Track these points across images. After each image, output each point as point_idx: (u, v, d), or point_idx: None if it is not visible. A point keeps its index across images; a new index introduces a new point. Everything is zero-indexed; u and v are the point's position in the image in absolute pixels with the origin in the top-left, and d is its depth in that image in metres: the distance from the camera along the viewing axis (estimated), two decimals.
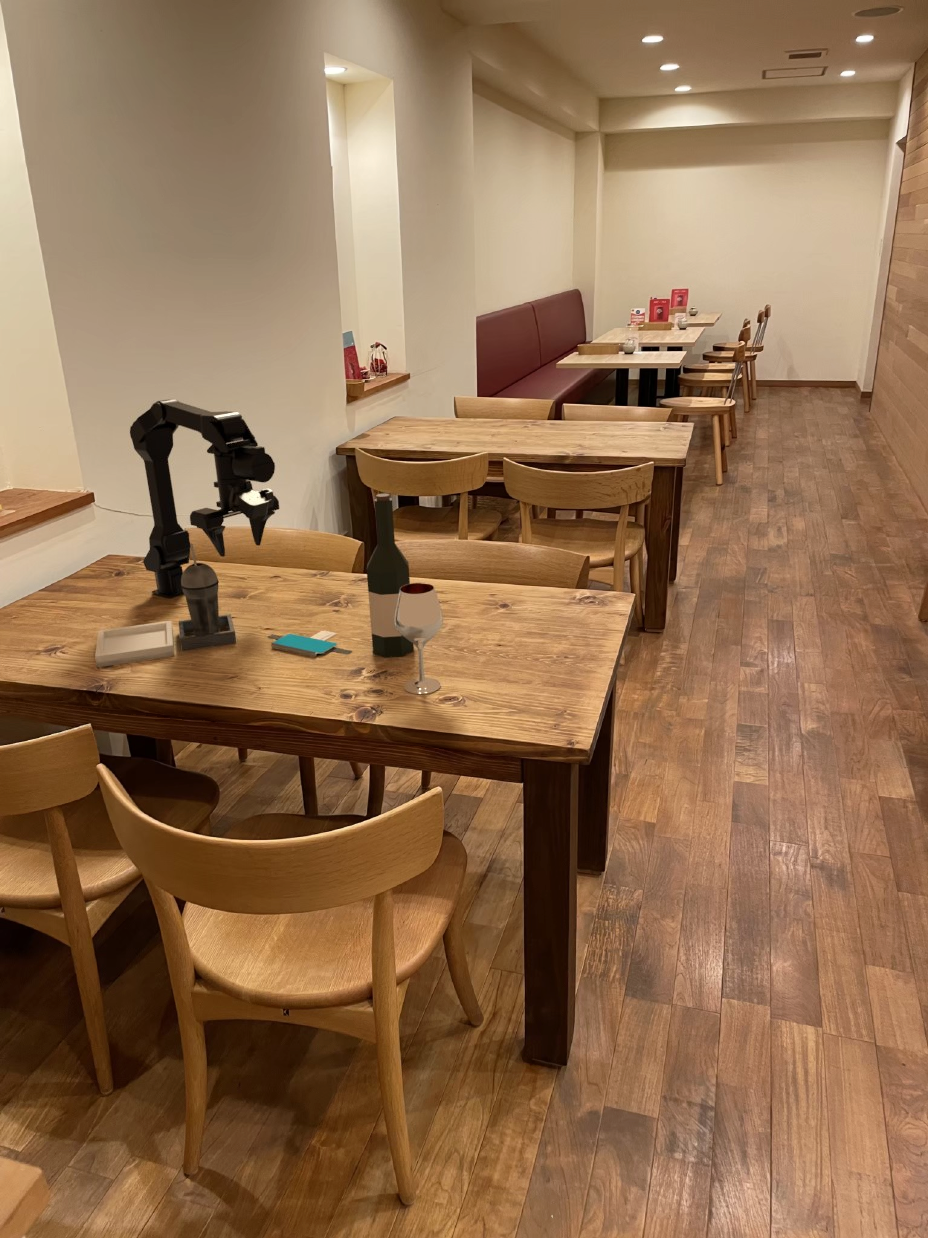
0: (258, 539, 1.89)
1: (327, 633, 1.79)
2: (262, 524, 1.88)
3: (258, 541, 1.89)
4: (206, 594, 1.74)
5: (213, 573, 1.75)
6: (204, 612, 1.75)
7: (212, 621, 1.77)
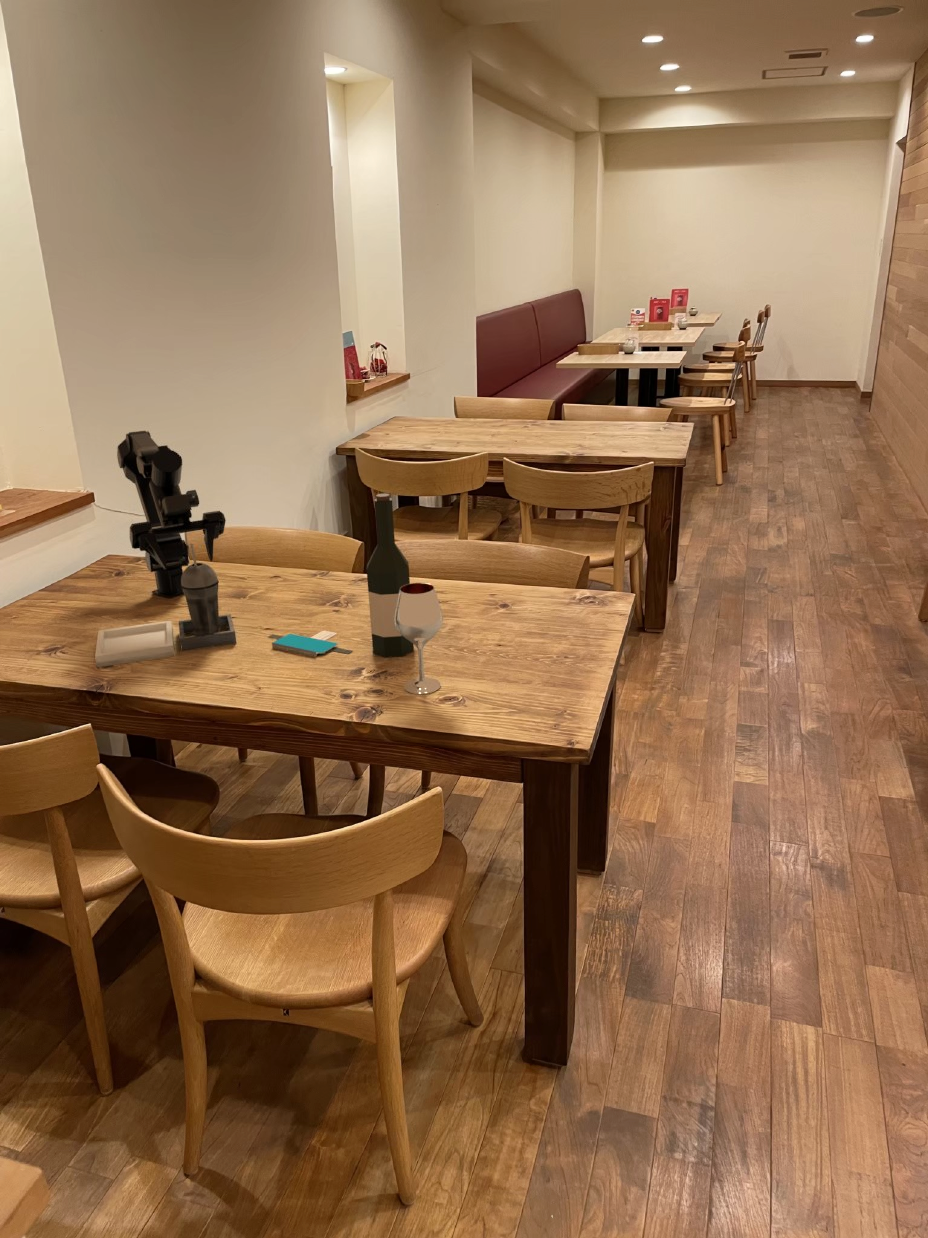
0: (209, 553, 1.84)
1: (327, 633, 1.80)
2: (210, 537, 1.84)
3: (209, 555, 1.83)
4: (206, 594, 1.74)
5: (213, 573, 1.75)
6: (204, 612, 1.75)
7: (212, 621, 1.77)
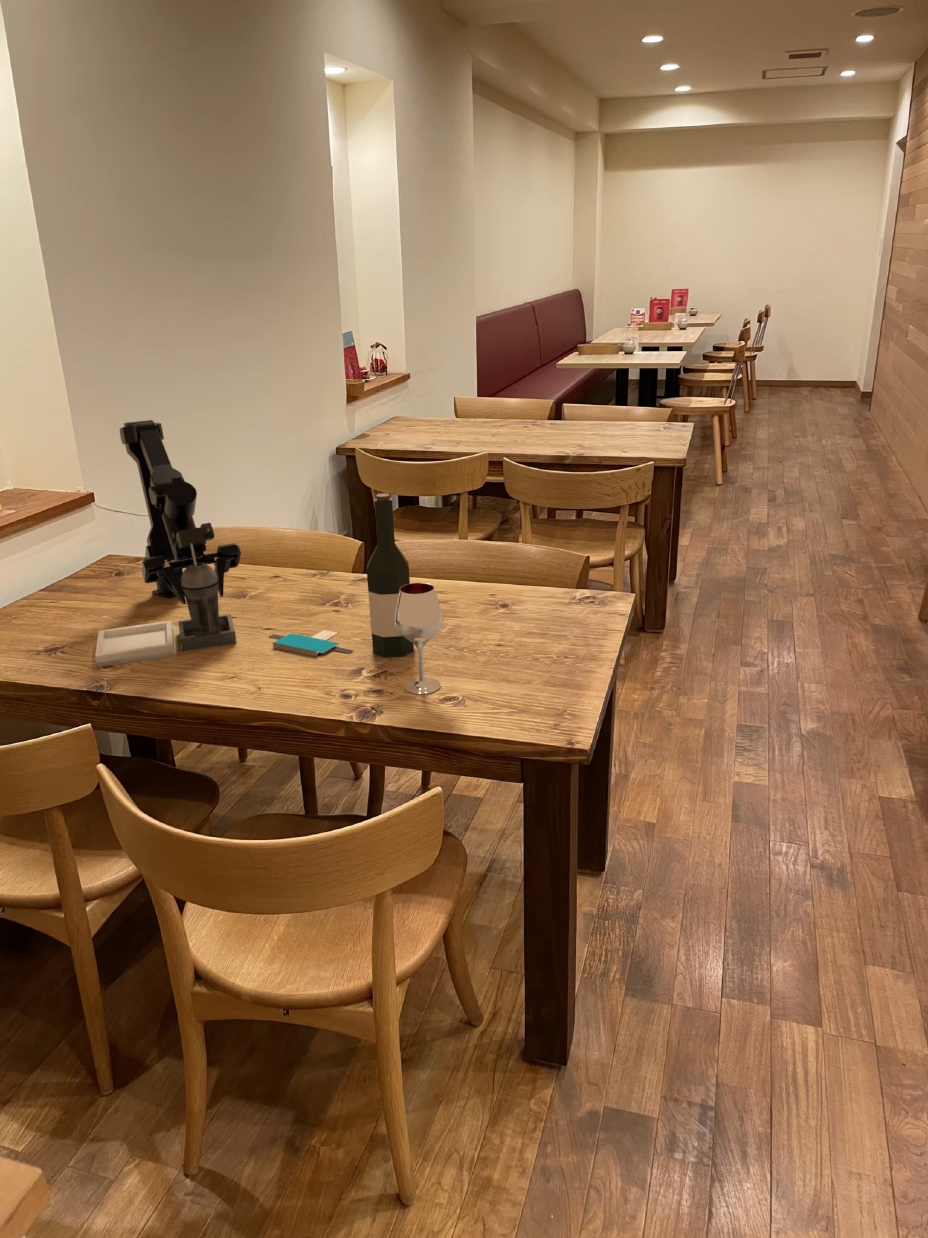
0: (219, 588, 1.77)
1: (328, 633, 1.80)
2: (220, 572, 1.78)
3: (220, 590, 1.77)
4: (206, 594, 1.74)
5: (213, 573, 1.75)
6: (204, 612, 1.75)
7: (212, 621, 1.77)
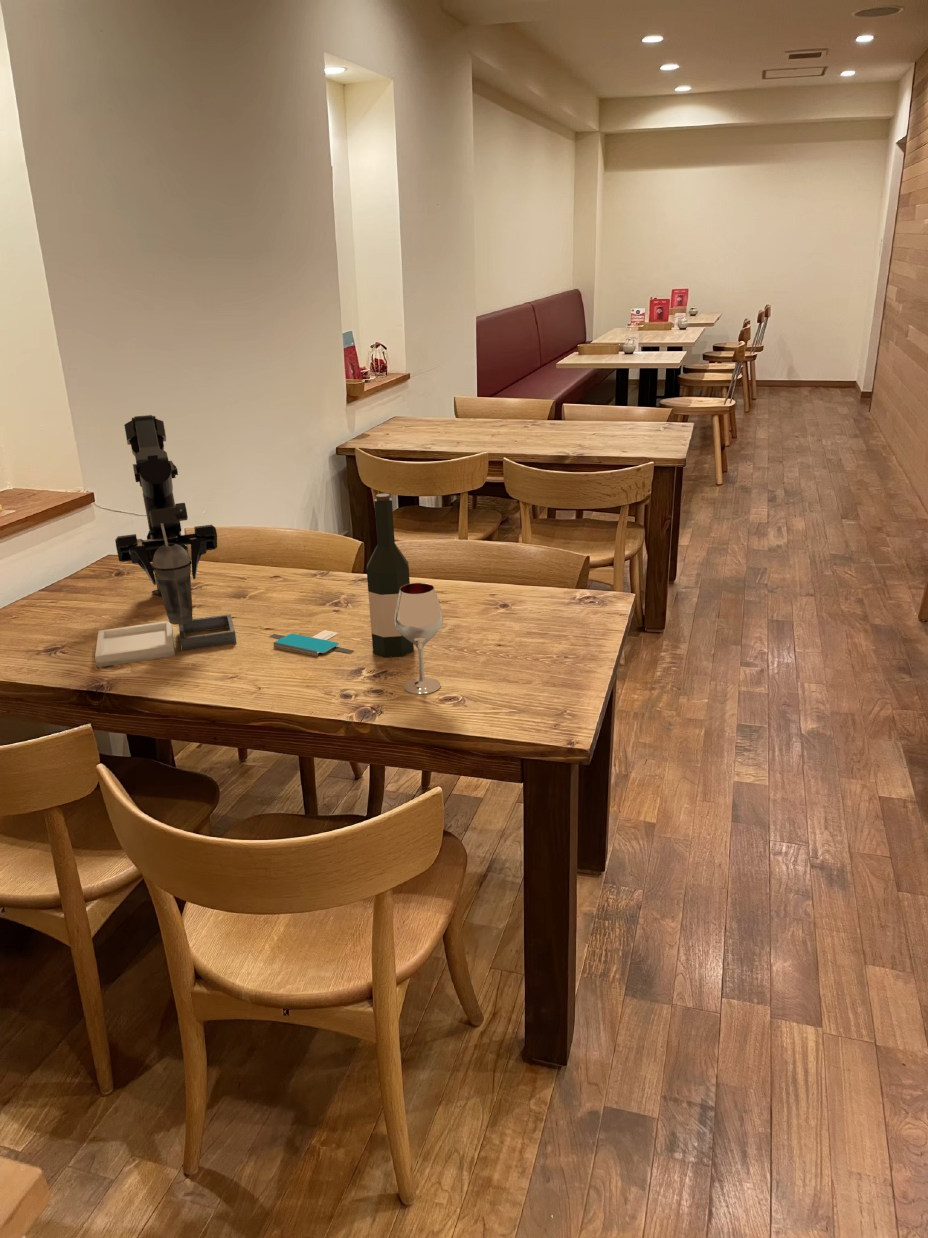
0: (192, 570, 1.74)
1: (329, 633, 1.80)
2: (194, 553, 1.74)
3: (192, 572, 1.73)
4: (176, 575, 1.70)
5: (184, 554, 1.71)
6: (174, 594, 1.72)
7: (183, 603, 1.73)
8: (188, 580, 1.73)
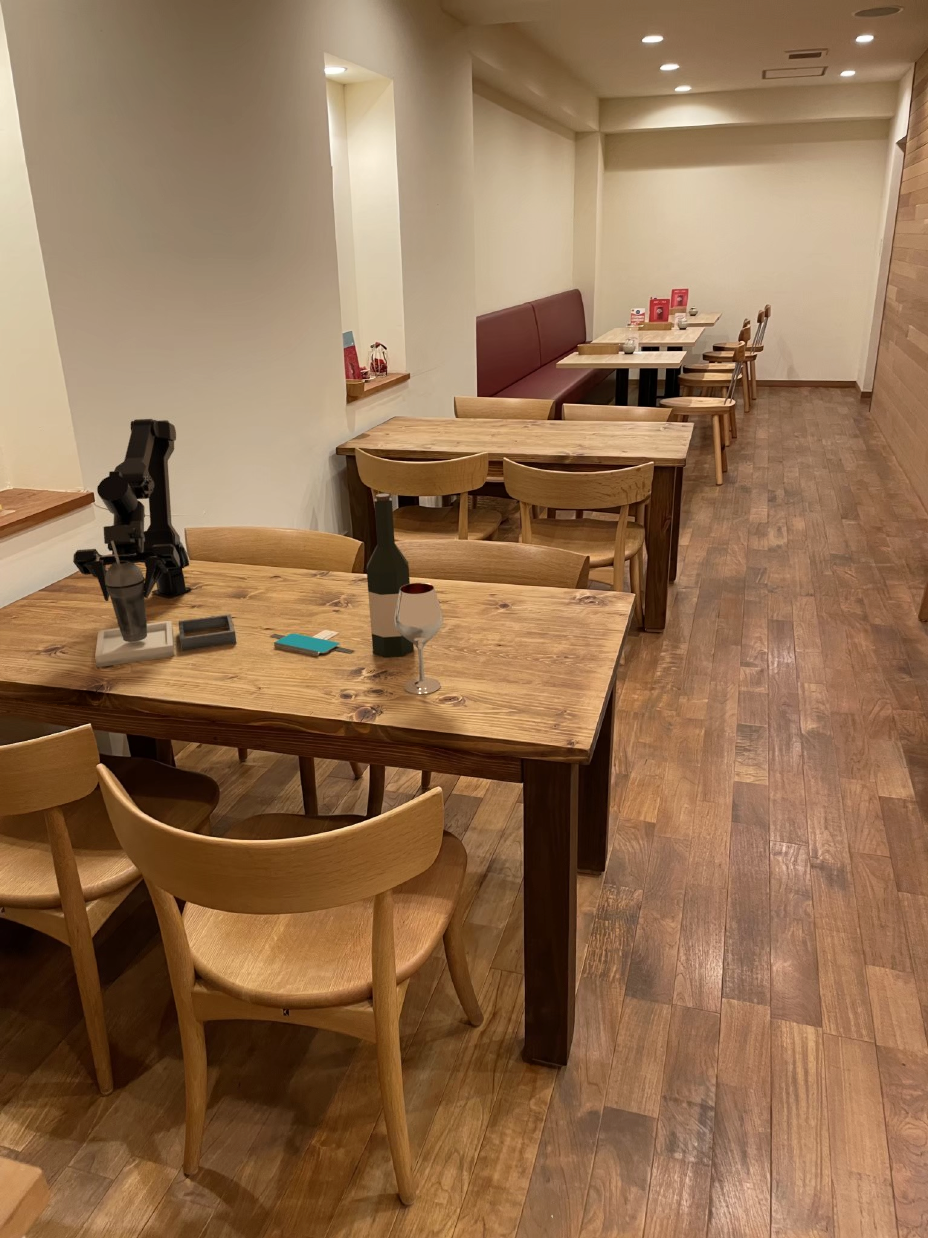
0: (144, 589, 1.72)
1: (329, 632, 1.80)
2: (148, 572, 1.72)
3: (144, 591, 1.72)
4: (124, 593, 1.69)
5: (134, 573, 1.69)
6: (123, 612, 1.71)
7: (132, 621, 1.72)
8: (139, 599, 1.71)
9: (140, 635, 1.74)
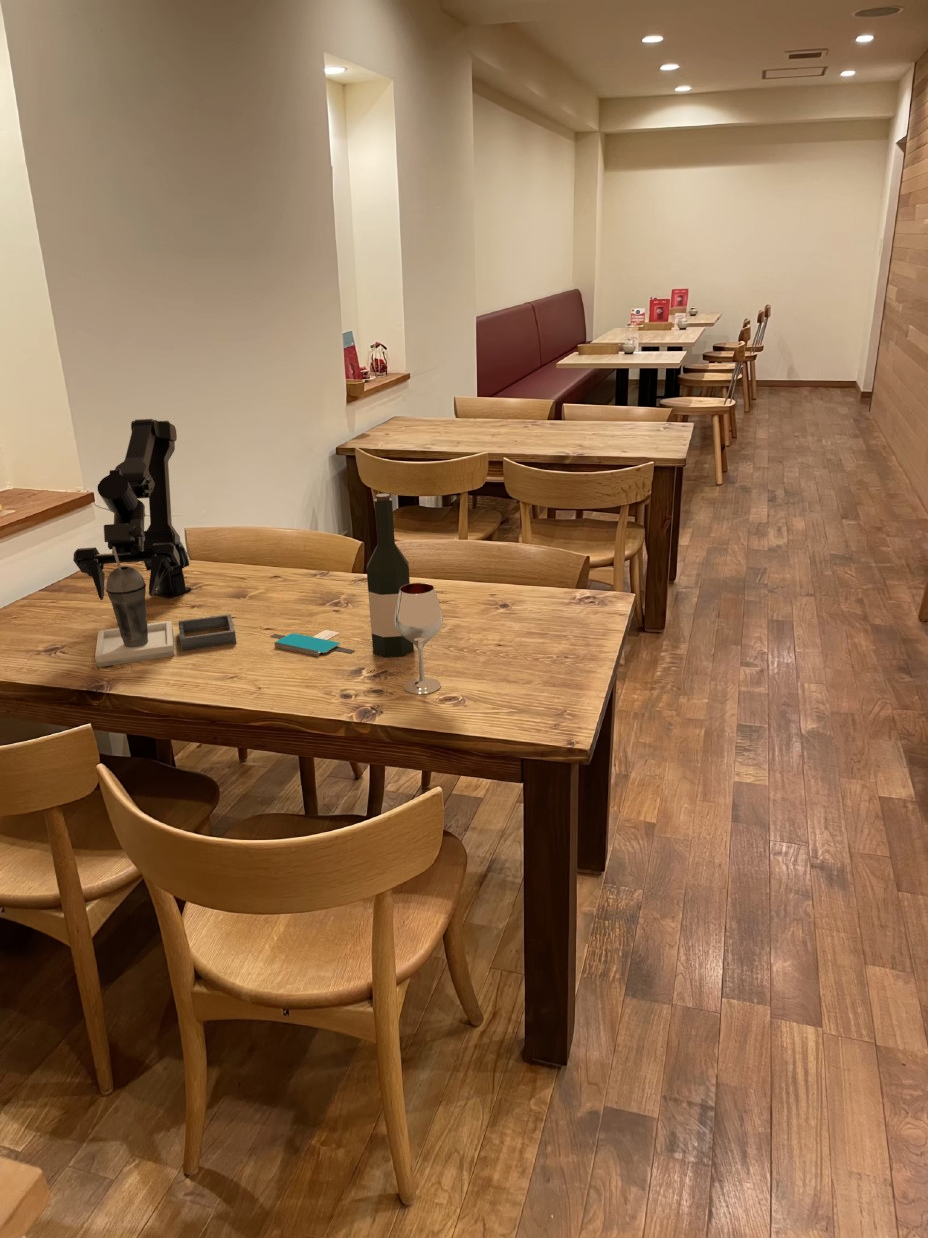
0: (149, 587, 1.72)
1: (330, 632, 1.80)
2: (153, 570, 1.73)
3: (149, 589, 1.72)
4: (125, 599, 1.69)
5: (136, 579, 1.70)
6: (124, 617, 1.71)
7: (133, 627, 1.72)
8: (140, 604, 1.72)
9: (141, 641, 1.74)
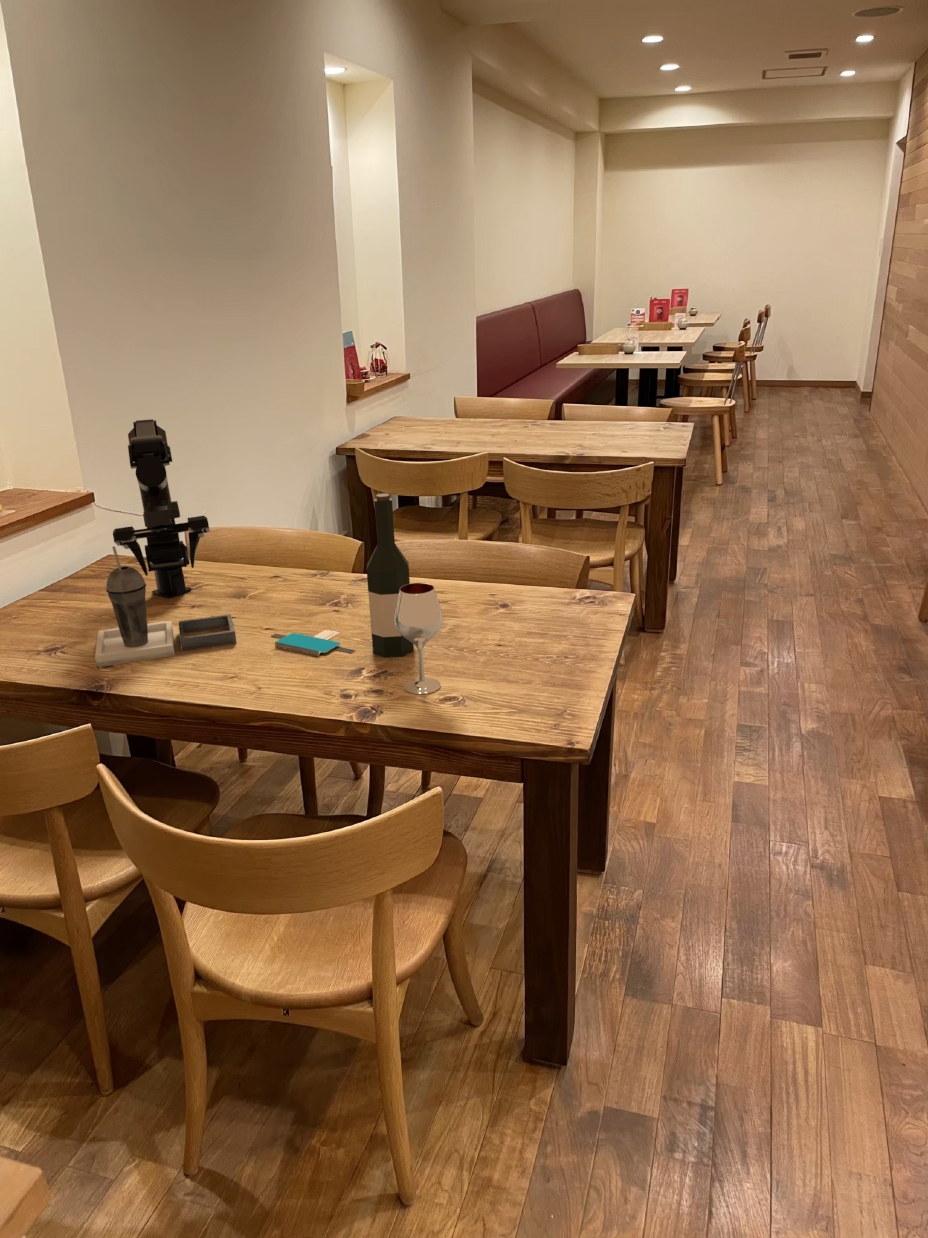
0: (190, 561, 1.86)
1: (330, 632, 1.80)
2: (192, 544, 1.85)
3: (191, 563, 1.86)
4: (125, 599, 1.69)
5: (136, 579, 1.70)
6: (124, 617, 1.71)
7: (133, 627, 1.72)
8: (140, 604, 1.72)
9: (141, 641, 1.74)
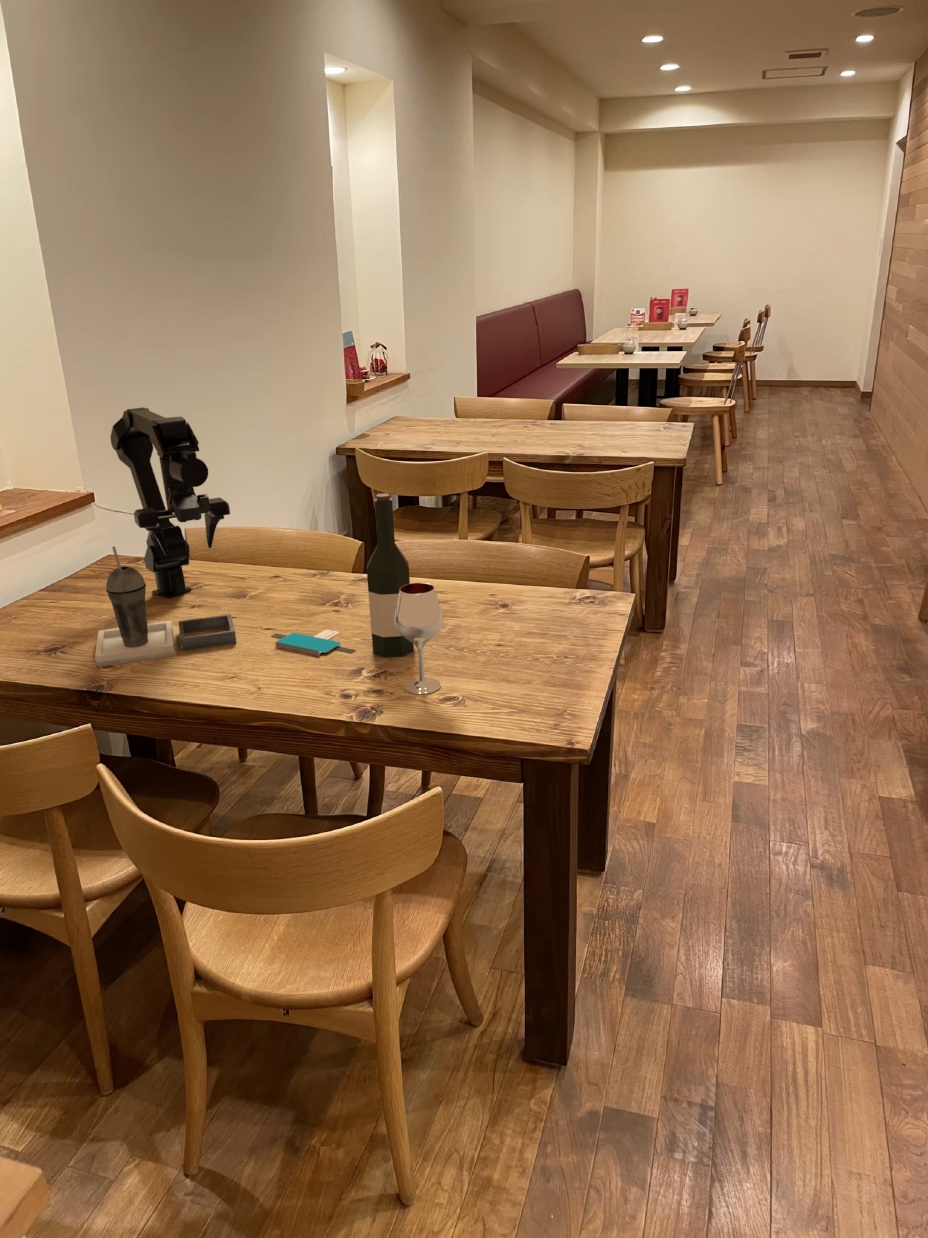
0: (208, 542, 1.93)
1: (331, 632, 1.80)
2: (212, 528, 1.91)
3: (209, 544, 1.93)
4: (125, 599, 1.69)
5: (136, 579, 1.70)
6: (124, 617, 1.71)
7: (133, 627, 1.72)
8: (140, 604, 1.72)
9: (141, 641, 1.74)
